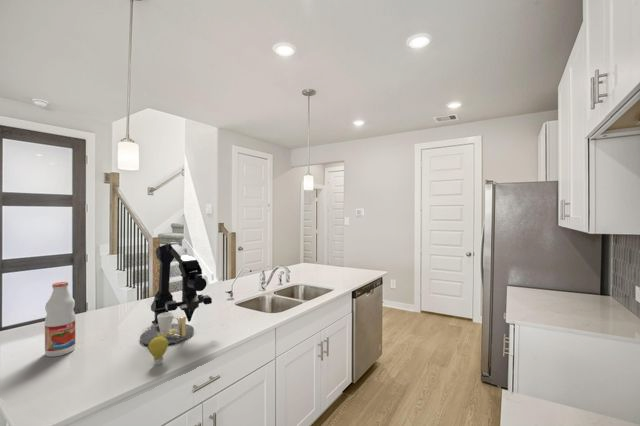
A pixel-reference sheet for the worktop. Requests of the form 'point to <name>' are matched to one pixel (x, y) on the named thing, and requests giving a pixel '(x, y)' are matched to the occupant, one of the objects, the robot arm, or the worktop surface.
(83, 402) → the worktop surface
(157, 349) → the light bulb
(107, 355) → the worktop surface
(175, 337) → the turntable
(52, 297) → the fruit juice
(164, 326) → the cup
